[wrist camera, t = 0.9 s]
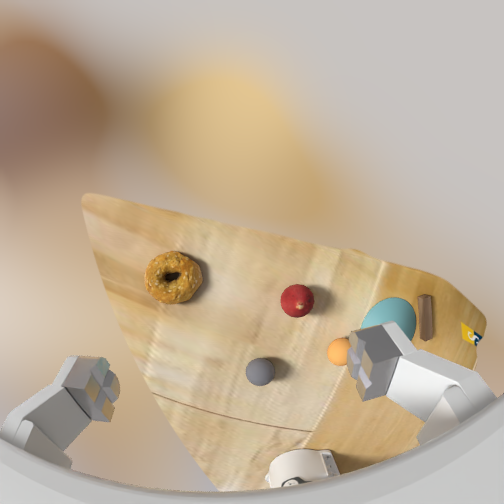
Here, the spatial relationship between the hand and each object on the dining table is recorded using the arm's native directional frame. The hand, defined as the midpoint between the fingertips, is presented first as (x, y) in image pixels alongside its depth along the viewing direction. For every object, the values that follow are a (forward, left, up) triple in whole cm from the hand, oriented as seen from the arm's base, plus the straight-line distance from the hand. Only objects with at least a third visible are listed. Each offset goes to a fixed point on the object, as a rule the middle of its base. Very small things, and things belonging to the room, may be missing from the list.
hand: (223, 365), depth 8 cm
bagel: (+6, +13, -43) cm, 45 cm away
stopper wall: (-31, -25, -42) cm, 58 cm away
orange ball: (-24, -5, -40) cm, 46 cm away
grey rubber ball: (-18, +10, -40) cm, 45 cm away
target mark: (-28, -17, -42) cm, 53 cm away
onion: (-10, -3, -42) cm, 44 cm away
